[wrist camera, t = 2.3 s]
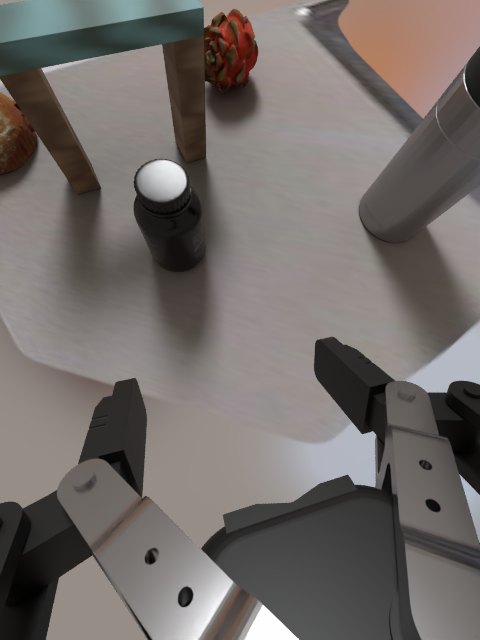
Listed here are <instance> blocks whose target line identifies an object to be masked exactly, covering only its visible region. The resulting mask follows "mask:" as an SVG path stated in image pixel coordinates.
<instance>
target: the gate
mask: <svg viewBox="0 0 480 640" xmlns="http://www.w3.org/2000/svg"><path fill="white" fill-rule="evenodd" d="M203 14H204V12H203V6H202V4H201V2H200V1H199V0H30V1H23V2H17V3H10V4H3V5H0V79H1V81H2V82H3V84H4V85H5V87H6V88H7V90H8V91H9V93H10V94H11V96H12V97H13V99H14V100H15V102H16V103H17V105H18V106H19V108H20V109H21V111H22V112H23V114H24V115H25V117H26V118H27V120H28V121H29V123H30V124H31V126H32V127H33V129H34V130H35V132H36V133H37V135H38V136H39V137H40V139H41V140H42V142H43V143H44V145H45V146H46V148H47V149H48V151H49V152H50V154H51V155H52V157H53V158H54V160H55V161H56V163H57V164H58V166H59V167H60V169H61V170H62V172H63V173H64V175H65V176H66V178H67V179H68V181H69V182H70V184H71V185H72V187H73V188H74V190H75V191H76V193H77V194H82V193H85V192H89V191H92V190H95V189H99V188H101V187H100V184H99V182H98V179H97V177H96V175H95V172H94V170H93V167H92V165H91V163H90V161H89V159H88V157H87V155H86V153H85V151H84V149H83V147H82V145H81V144H80V142H79V140H78V138H77V136H76V134H75V132H74V130H73V128H72V126H71V124H70V123H69V121H68V119H67V117H66V115H65V113H64V111H63V109H62V107H61V105H60V103H59V102H58V100H57V98H56V96H55V94H54V92H53V90H52V88H51V86H50V84H49V82H48V80H47V79H46V77H45V75H44V73H43V71H42V69H41V68H43V67H48V66H54V65H59V64H64V63H68V62H73V61H79V60H84V59H88V58H93V57H99V56H104V55H109V54H114V53H119V52H124V51H129V50H135V49H140V48H145V47H150V46H155V45H160V44H162V46H163V54H164V61H165V68H166V75H167V83H168V90H169V97H170V104H171V111H172V119H173V126H174V133H175V140H176V143H177V145H178V147H179V149H180V151H181V153H182V155H183V157H184V159H185V161H186V163H188V162H192V161H195V160H198V159H202V158H205V157H206V124H205V68H204V15H203Z"/></svg>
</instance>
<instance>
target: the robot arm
mask: <svg viewBox="0 0 480 640" xmlns="http://www.w3.org/2000/svg"><path fill="white" fill-rule="evenodd" d="M479 185H480V47H479V48H478V49H477V51H476V52H475V53H474V55H473V56H472V57H471V58H470V60H469V61H468V62H467V64H466V65H465V66H464V68H463V69H462V70H461V71H460V73H459V74H458V75H457V77H456V78H455V79H454V80H453V82H452V83H451V84H450V85H449V87H448V88H447V89H446V91H445V92H444V93H443V94H442V96H441V97H440V99H439V100H438V101H437V102H436V104H435V105H434V106H433V107H432V109H431V110H430V111H429V113H428V114H427V115H426V116H425V118H424V119H423V120H422V122H421V123H420V124H419V125H418V127H417V128H416V129H415V130H414V132H413V133H412V134H411V136H410V137H409V138H408V139H407V141H406V142H405V143H404V145H403V146H402V147H401V148H400V150H399V151H398V152H397V153H396V155H395V156H394V157H393V159H392V160H391V161H390V162H389V164H388V165H387V166H386V168H385V169H384V170H383V171H382V173H381V174H380V175H379V176H378V178H377V179H376V180H375V181H374V183H373V184H372V185H371V187H370V188H369V189H368V190H367V192H366V193H365V194H364V196H363V197H362V199H361V201H360V205H359V213H360V217H361V219H362V221H363V224H364V225H365V226H366V228H367V229H368V230H369V231H370V232H371V233H372V234H373V235H375V236H376V237H378V238H380V239H382V240H385V241H389V242H403V241H406V240H408V239H410V238H411V237H412V236H414V235H415V234H416V233H418V232H419V231H420V230H422V229H423V228H424V227H426V226H427V225H428V224H430V223H431V222H432V221H434V220H435V219H436V218H438V217H439V216H440V215H442V214H443V213H444V212H445V211H447V210H448V209H449V208H451V207H452V206H453V205H455V204H456V203H457V202H459V201H460V200H461V199H462V198H464V197H465V196H466V195H468V194H469V193H470V192H472V191H473V190H474V189H475V188H477V187H478V186H479ZM314 371H315V375H316V378H317V379H318V381H319V382H320V383H321V385H322V386H323V387H324V388H325V390H326V391H327V392H328V393H329V394H330V396H331V397H332V398H333V399H334V400H335V402H336V403H337V404H338V405H339V407H340V408H341V409H342V410H343V411H344V413H345V414H346V415H347V416H348V418H349V419H350V420H351V421H352V422H353V424H354V425H355V426H356V427H357V428H358V430H359V431H360V432H361V433H362V434H364V433H368V432H371V431H374V432H375V434H376V439H375V455H376V456H375V459H376V486H375V488H374V487H370V486H365V485H354V483H353V482H352V480H351V478H350V477H349V476H348V475H345V476H342V477H340V478H336V479H334V480H330V481H327V482H324V483H320V484H318V485H317V486H316V487H314V488H313V489H311V490H310V491H309V492H307V493H306V494H304V495H303V496H301V497H300V498H299V499H297V500H296V501H294V502H291V503H276V504H255V505H252V506H249V507H246V508H243V509H239V510H236V511H233V512H230V513H227V514H224V515H223V518H224V523H225V527H223V528H222V529H220V530H219V531H217V532H216V533H215V534H214V535H213V536H212V537H211V538H210V539H209V540H208V541H207V542H206V543H205V544H204V546H203V547H202V548H201V549H200V548H199V547H198V546H197V545H196V544H195V543H194V542H193V541H192V540H191V539H190V538H189V537H188V536H187V535H186V534H185V533H184V532H183V531H182V530H181V529H180V528H179V527H178V526H177V525H176V524H175V523H174V522H173V521H172V520H171V519H170V518H169V517H168V516H167V515H166V514H165V513H164V512H163V511H162V510H161V509H160V508H159V507H158V506H157V505H156V504H155V503H154V502H153V501H152V500H151V499H150V498H149V497H147V496H145V497H144V498H142V490H143V475H144V459H145V443H146V427H147V415H146V409H145V405H144V402H143V398H142V395H141V392H140V389H139V385H138V382H137V380H136V378H133V379H128V380H123V381H118V382H116V383H115V386H114V390H113V395H112V396H108V397H104V398H103V399H102V400H101V401H100V403H99V404H98V405H97V406H96V407H95V410H94V413H93V417H92V421H91V423H90V426H89V430H88V433H87V436H86V440H85V443H84V446H83V450H82V453H81V456H80V459H79V463H78V465H77V466H75V467H74V468H73V469H71V470H70V471H69V472H68V473H67V474H66V475H65V477H64V478H63V479H62V481H61V482H60V484H59V487H58V489H57V490H56V491H55V492H53V493H51V494H49V495H48V496H46V497H44V498H42V499H40V500H39V501H37V502H35V503H33V504H31V505H29V506H27V507H25V508H23V509H22V507H21V506H20V505H19V504H18V503H16V502H4V503H1V504H0V640H46V636H47V631H48V627H49V622H50V617H51V613H52V608H53V603H54V598H55V593H56V589H57V584H58V580H59V577H60V576H62V575H63V574H65V573H66V572H68V571H69V570H71V569H72V568H74V567H75V566H77V565H78V564H80V563H81V562H83V561H84V560H86V559H88V558H89V557H91V556H92V555H93V557H94V558H95V560H96V561H97V563H98V564H99V566H100V567H101V569H102V571H103V572H104V574H105V575H106V577H107V578H108V580H109V581H110V583H111V584H112V586H113V587H114V589H115V590H116V592H117V593H118V595H119V596H120V598H121V599H122V601H123V602H124V604H125V606H126V607H127V609H128V610H129V612H130V613H131V615H132V617H133V618H134V620H135V621H136V623H137V624H138V626H139V627H140V629H141V630H142V632H143V633H144V635H145V637H146V638H147V640H480V543H479V541H478V538H477V534H476V530H475V527H474V524H473V520H472V517H471V513H470V510H469V506H468V503H467V499H466V496H465V492H464V489H463V486H462V482H461V479H460V476H459V474H460V475H461V476H462V477H463V478H464V479H465V480H466V481H467V482H468V483H469V484H470V485H471V486H472V487H473V488H474V489H475V490H476V492H477V493H478V494H479V495H480V385H479V384H476V383H473V382H468V381H455V382H452V383H451V384H450V386H449V388H448V391H447V393H427V392H426V391H425V390H424V389H422V388H421V387H419V386H417V385H415V384H413V383H410V382H406V381H395V380H394V379H392V378H391V377H390V376H389V375H387V374H386V373H385V372H384V371H383V370H381V369H380V368H379V367H378V366H376V365H375V364H374V363H372V362H371V361H370V360H369V359H368V358H367V357H366V358H365V356H364V355H363V354H362V353H360V352H359V351H358V350H357V349H354V348H352V347H350V346H348V345H343V344H342V343H340V342H339V341H338V340H337V339H336V338H334V337H329V338H324V339H319V340H317V341H316V343H315V359H314Z"/></svg>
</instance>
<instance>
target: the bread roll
mask: <svg viewBox="0 0 480 640" xmlns="http://www.w3.org/2000/svg"><path fill="white" fill-rule="evenodd" d="M35 147H36V134H35V130H34V129H33V127H32V126H31V124H30V123H29V121H28V120H27V118H26V117H25V115H24V114H23V112H22V111H21V109H20V108H19V106H18V105H17V103H16V102H15V101H14V100H12V99H10V98H9V97H7V96H5V95H4V94H2V93H0V174H5V173H9V172H11V171H14V170H16V169H18V168H20V167H22V166H23V165H24V163H25V162H26V161H27V159H28V158H29V157H30V156H31V154H32V152H33V151H34V149H35Z"/></svg>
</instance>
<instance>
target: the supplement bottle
mask: <svg viewBox="0 0 480 640" xmlns="http://www.w3.org/2000/svg"><path fill="white" fill-rule="evenodd" d="M134 179H135V180H134V188H135V191H136V193H137V196H136V198H135V201H134V215H135V219H136V221H137V224H138V226H139V228H140V230H141V232H142V234H143V236H144V239H145V241H146V243H147V245H148V247H149V249H150V252H151V254H152V256H153V257H154V259H155V261H156V262H157V263H158V264H159V265H160V266H162V267H163V268H165V269H167V270H170V271H174V272H182V271H187V270H189V269H192V268H193V267H195V266H196V265H197V264H198V263H199V262H200V261H201V260H202V258H203V256H204V253H205V233H204V218H203V207H202V202H201V199H200V197H199V195H198V193H197V192H196V191H195V190H194V189H193V188H192V187H191V186H190V182H189V177H188V175H187V172H186V171H185V170H184V168H182V167H181V166H180V165H179V164H177V163H176V162H173V161H171V160H167V159H164V160H163V159H158V160H157V159H155V160H152V161H149V162H147V163H145V164H144V165H142V166H141V168H139V169H138V171H137V172H136V175H135V177H134Z"/></svg>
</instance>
